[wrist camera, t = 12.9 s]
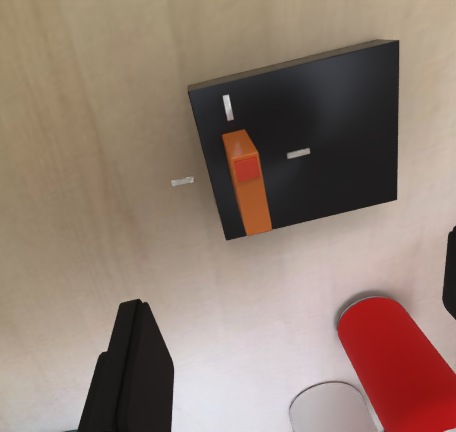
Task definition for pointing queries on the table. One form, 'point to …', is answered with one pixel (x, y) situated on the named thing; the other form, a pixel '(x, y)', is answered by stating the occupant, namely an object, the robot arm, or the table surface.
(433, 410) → the beverage can
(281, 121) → the control panel
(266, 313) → the table surface
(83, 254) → the table surface
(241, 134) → the knob
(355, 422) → the mug
